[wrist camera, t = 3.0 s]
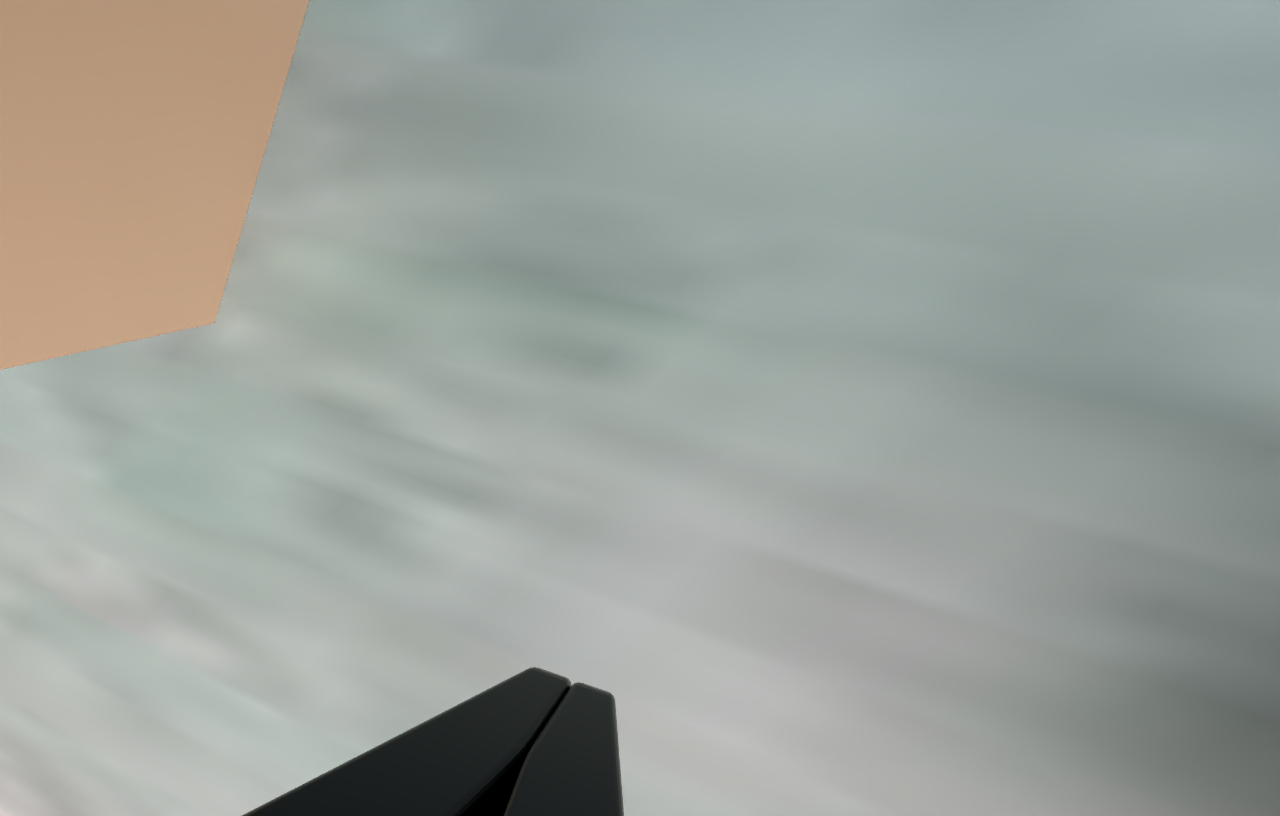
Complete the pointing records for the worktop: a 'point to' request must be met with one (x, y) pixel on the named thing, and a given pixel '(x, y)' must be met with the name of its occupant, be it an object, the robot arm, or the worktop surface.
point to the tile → (129, 162)
